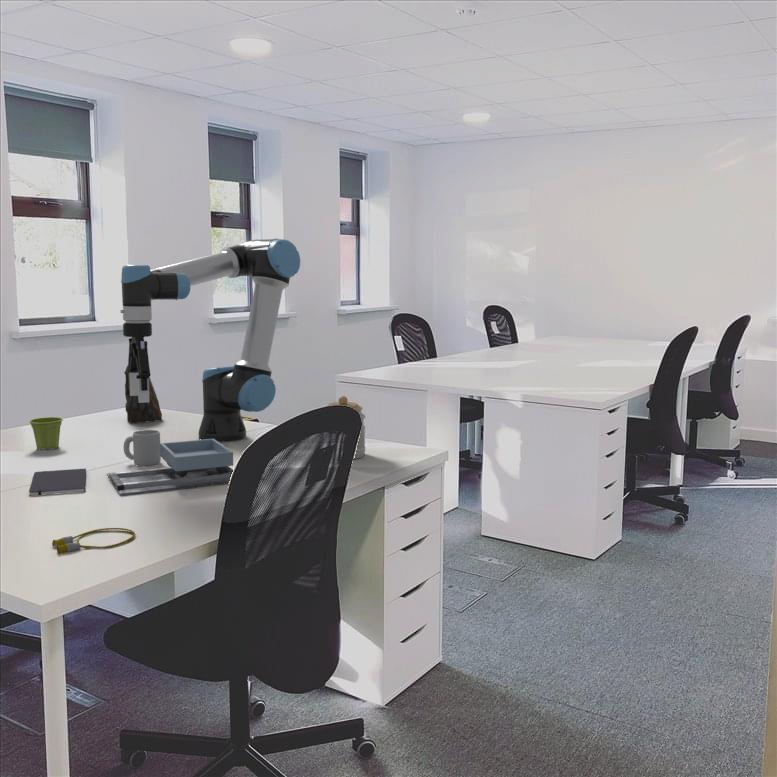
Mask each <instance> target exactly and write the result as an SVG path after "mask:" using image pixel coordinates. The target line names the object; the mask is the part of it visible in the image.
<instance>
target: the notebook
mask: <svg viewBox="0 0 777 777" xmlns="http://www.w3.org/2000/svg"><path fill="white" fill-rule="evenodd" d="M86 480H87V468H76V469H75V468H73V469H71V468H70V469H61V470H59V469H58V470H42V471H35V472H34V473H33V477H32V479H31V483H30V486H29V490H28V493H29V496H30V495H38V496H39V495H41V496H43V495H42V494H51V495H55V494H54V493H64V494H72V493H71V492H77V493H86V488H85V487H87V486H86V484H87V483H86V482H87V481H86ZM68 492H70V493H68Z"/></svg>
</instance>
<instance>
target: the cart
mask: <svg viewBox="0 0 777 777" xmlns="http://www.w3.org/2000/svg"><path fill="white" fill-rule="evenodd" d="M160 456H161V459H162V460H164V462H166V464H167V466H168V467H172V468H173V469H174V470H175V471H177V474H178V475H179V476H180V477H185V476H186V475H187V470H194V469H204V468H214V467H216V470H217V471H218V472H219V473H224V472H225V471H226V466H229V467H232V466H234V451H232V450H231V449H229V447H226V446H225V445H223V444H222V442H218V441H216V440H215V439H204V440H200V439H195V440H184V441H171V442H160Z"/></svg>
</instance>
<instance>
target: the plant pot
mask: <svg viewBox="0 0 777 777" xmlns="http://www.w3.org/2000/svg"><path fill="white" fill-rule="evenodd" d="M63 420H64V419H63V417H57V416H55V417H53V416H49V417H47V416H46V417H38V418H33V419H30V420H28V423H29V424H30V426H31V428H32V431H33V436H34V440H35V445H36V449H38V450H39V449H40V451H41V450H46V451H49V450H55V449H57V448H59V446H60V435H61V426H62V421H63Z"/></svg>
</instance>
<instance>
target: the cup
mask: <svg viewBox="0 0 777 777" xmlns="http://www.w3.org/2000/svg"><path fill="white" fill-rule="evenodd" d="M160 432H161V431H160V430H157V429H156V430H155V429H141V430H137V431H136V430H135V431H134V432H132V435H130V436H127V437H126V438H125V439H124V442H123V453H124V455H125V457H126V458H127V459H129V460H131V461H132V460H133V464H134V465H135V466H136V465H137V466H136V467H142V466H146V467H154V466H157V465H160V464H161V461H162V457H161V456H160V443H161V433H160ZM131 443H132V445H133V446H132V449H133V453H131V450H130V444H131Z"/></svg>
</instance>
